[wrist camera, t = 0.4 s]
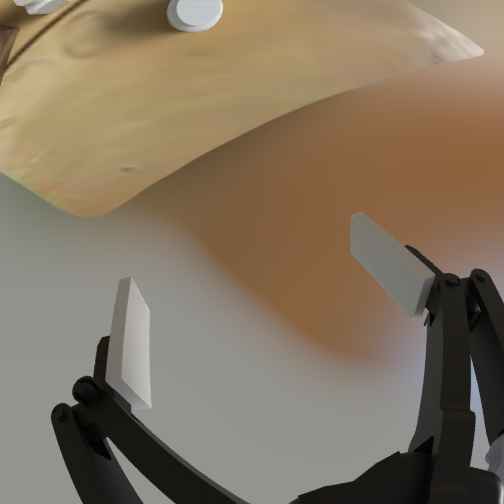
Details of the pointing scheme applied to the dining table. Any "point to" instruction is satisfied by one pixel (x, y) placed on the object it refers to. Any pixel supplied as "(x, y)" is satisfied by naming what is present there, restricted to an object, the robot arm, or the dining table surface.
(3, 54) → the brown and grey frame
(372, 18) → the dining table surface
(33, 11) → the pepper shaker
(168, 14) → the supplement bottle
